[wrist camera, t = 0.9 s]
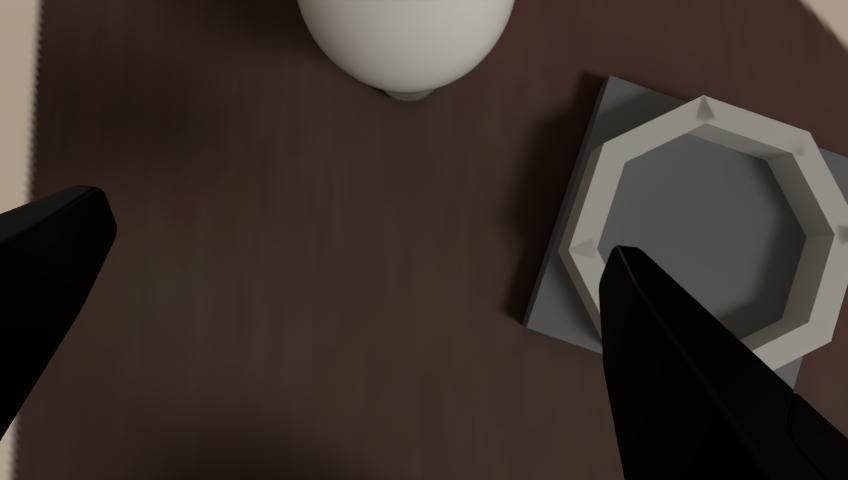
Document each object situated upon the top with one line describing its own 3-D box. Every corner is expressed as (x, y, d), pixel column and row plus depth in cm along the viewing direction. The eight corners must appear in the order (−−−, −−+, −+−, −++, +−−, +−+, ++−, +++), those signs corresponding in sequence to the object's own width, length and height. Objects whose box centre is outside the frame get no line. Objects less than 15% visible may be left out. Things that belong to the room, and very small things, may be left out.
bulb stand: (768, 411, 23) (811, 428, 20) (521, 325, 23) (534, 331, 20) (841, 166, 23) (892, 154, 21) (601, 83, 24) (624, 61, 21)
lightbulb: (307, 52, 23) (212, -142, 12) (431, -22, 24) (447, -277, 13) (385, 177, 23) (359, 90, 12) (509, 99, 23) (594, -53, 12)
